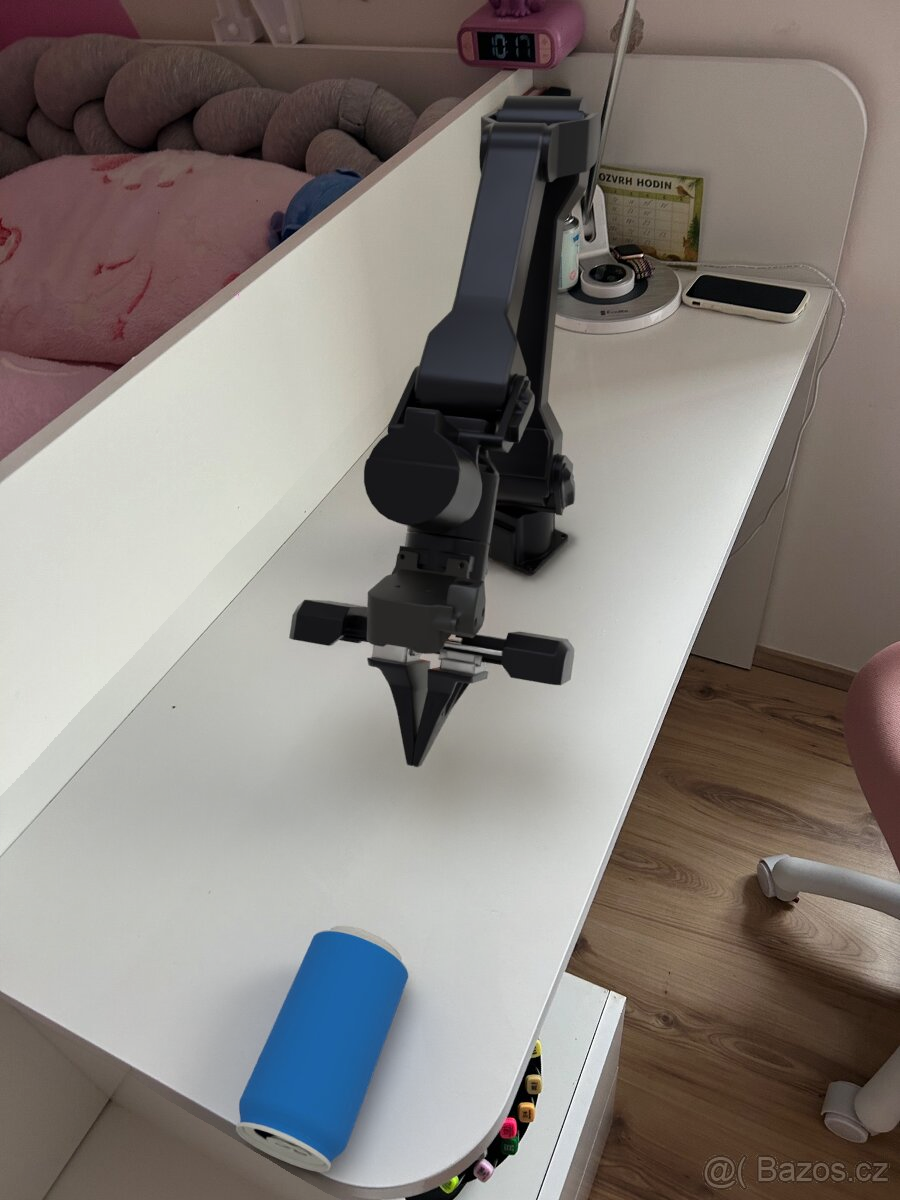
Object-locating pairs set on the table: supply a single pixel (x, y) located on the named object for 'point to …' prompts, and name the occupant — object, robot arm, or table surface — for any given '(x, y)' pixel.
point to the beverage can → (323, 1049)
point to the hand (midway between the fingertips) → (414, 765)
